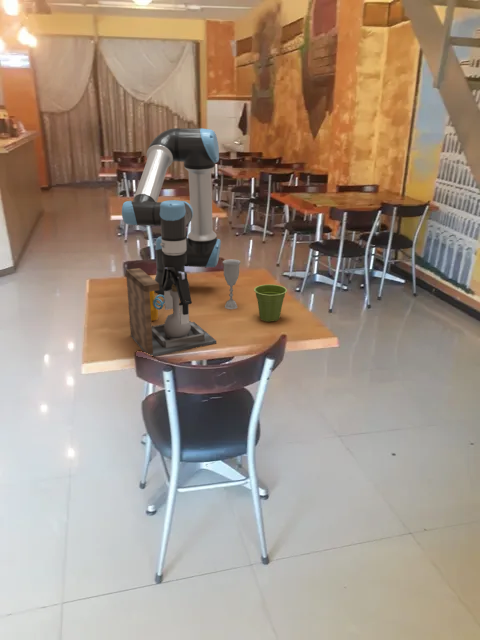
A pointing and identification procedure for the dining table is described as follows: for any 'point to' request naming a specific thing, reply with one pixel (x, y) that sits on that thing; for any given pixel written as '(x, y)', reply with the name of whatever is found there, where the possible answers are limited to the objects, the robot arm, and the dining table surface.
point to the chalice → (231, 279)
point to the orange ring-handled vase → (155, 305)
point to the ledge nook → (140, 320)
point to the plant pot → (270, 301)
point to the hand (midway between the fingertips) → (176, 316)
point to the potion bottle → (175, 320)
